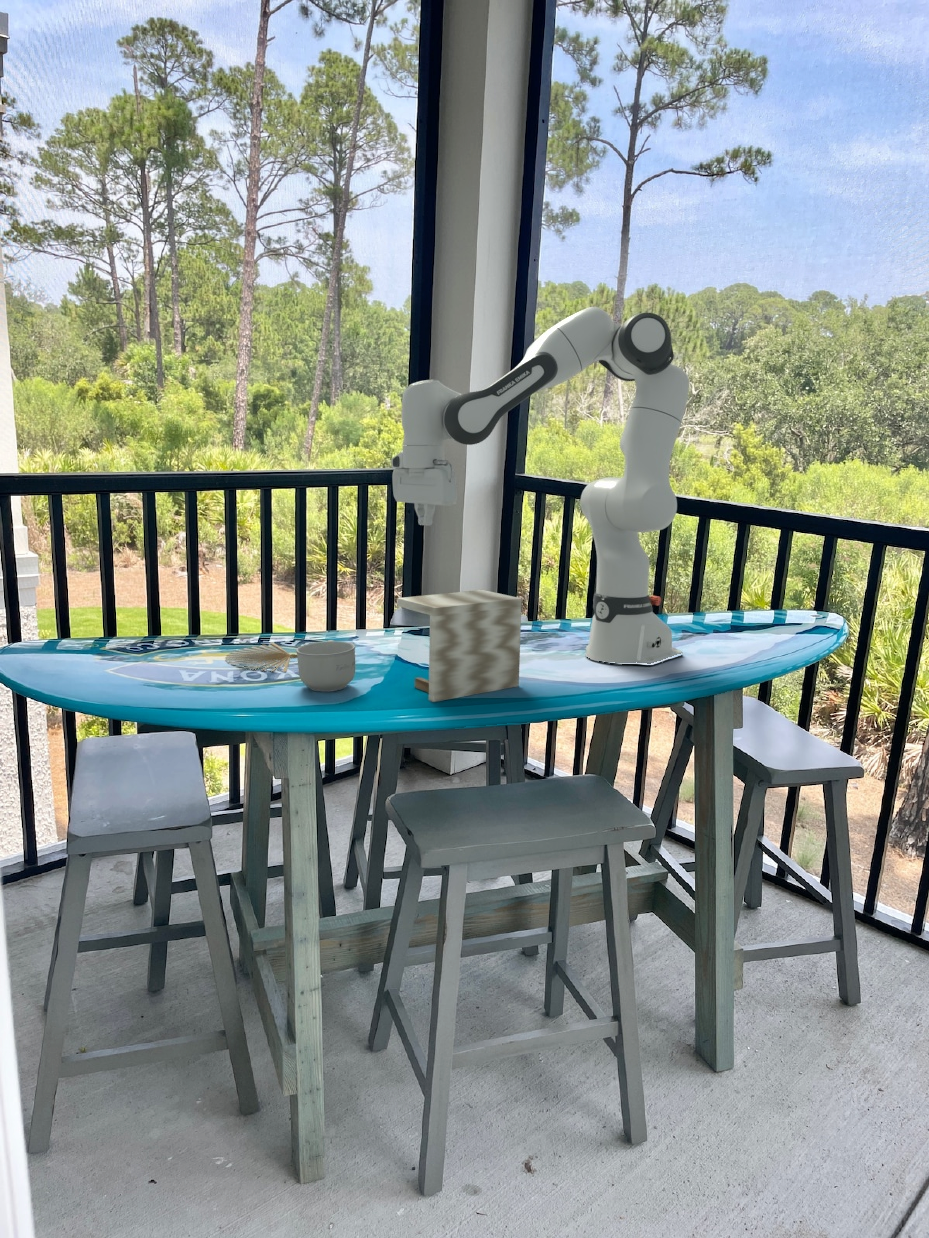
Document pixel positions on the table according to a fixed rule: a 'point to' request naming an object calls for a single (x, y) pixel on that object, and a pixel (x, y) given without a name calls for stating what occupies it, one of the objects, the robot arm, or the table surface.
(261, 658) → the hand fan
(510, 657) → the marbled side table
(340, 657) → the teacup
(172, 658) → the table surface
